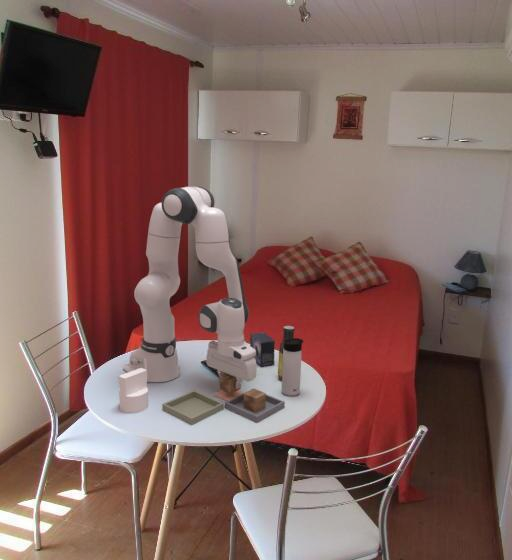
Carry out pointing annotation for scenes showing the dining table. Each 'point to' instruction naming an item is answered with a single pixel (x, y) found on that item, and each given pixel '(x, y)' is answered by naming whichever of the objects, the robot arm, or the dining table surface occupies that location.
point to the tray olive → (193, 407)
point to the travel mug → (291, 367)
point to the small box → (263, 349)
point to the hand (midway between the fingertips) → (230, 385)
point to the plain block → (254, 400)
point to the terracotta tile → (227, 395)
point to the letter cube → (228, 383)
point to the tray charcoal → (238, 408)
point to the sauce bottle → (287, 335)
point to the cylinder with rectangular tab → (133, 391)
